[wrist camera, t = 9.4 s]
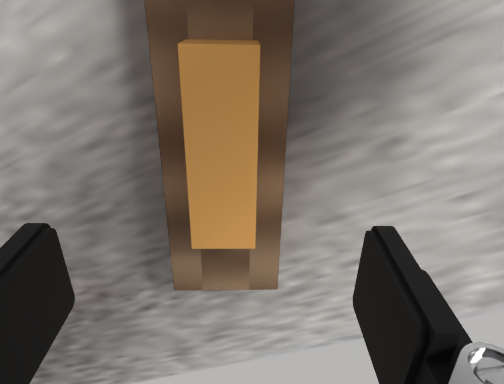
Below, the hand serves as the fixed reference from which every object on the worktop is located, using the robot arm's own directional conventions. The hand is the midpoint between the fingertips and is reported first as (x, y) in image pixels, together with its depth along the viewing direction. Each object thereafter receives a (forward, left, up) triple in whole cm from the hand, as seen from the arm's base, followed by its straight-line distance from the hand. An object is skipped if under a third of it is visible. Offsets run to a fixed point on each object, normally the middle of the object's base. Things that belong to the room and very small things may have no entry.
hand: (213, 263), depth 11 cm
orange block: (+1, 0, -17) cm, 17 cm away
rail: (+1, 0, -18) cm, 18 cm away
